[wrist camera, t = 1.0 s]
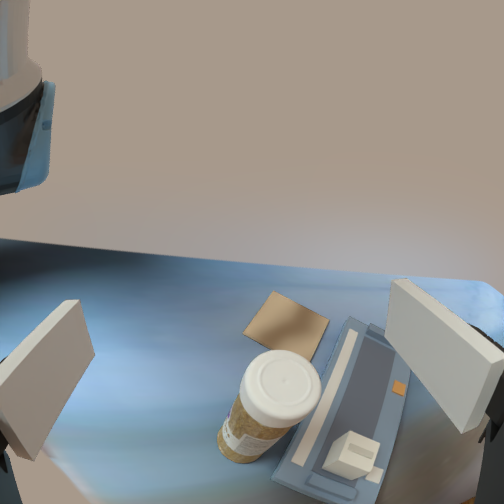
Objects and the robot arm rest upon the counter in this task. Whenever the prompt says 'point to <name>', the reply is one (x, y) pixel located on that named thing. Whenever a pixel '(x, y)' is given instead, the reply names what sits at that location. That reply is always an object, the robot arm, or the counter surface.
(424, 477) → the counter surface
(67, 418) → the counter surface
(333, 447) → the ivory tab
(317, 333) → the cork coaster
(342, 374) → the switch board
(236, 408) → the sprinkles bottle
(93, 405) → the counter surface
